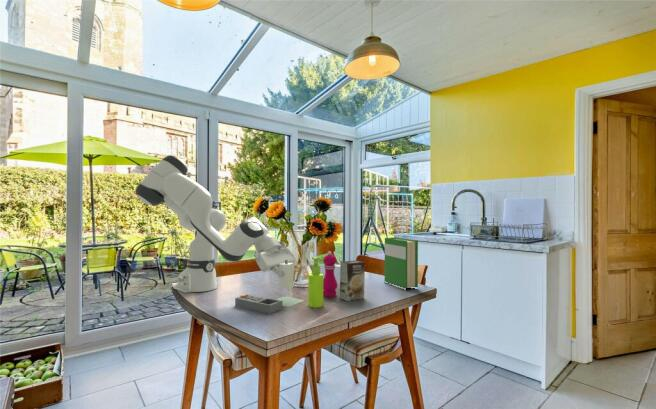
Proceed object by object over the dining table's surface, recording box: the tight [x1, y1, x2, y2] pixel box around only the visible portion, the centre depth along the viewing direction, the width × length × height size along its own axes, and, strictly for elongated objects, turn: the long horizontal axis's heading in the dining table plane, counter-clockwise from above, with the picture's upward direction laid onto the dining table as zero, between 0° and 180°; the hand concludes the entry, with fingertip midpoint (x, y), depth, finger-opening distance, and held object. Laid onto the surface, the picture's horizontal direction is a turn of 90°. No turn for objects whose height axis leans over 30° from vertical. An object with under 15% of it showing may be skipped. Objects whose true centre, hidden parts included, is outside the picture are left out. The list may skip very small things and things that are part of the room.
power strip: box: [234, 293, 284, 315], centre depth 124 cm, size 18×7×5 cm, turn 58°
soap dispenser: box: [307, 255, 325, 308], centre depth 128 cm, size 6×7×20 cm
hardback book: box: [384, 236, 419, 289], centre depth 164 cm, size 18×7×24 cm, turn 24°
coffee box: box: [339, 260, 366, 302], centre depth 141 cm, size 9×6×16 cm
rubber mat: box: [275, 296, 306, 308], centre depth 132 cm, size 11×11×1 cm
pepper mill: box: [322, 250, 338, 298], centre depth 146 cm, size 7×7×20 cm
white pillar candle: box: [277, 260, 295, 290], centre depth 132 cm, size 4×4×12 cm
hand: (287, 274), depth 132 cm, fingers closed on white pillar candle, 5 cm apart
